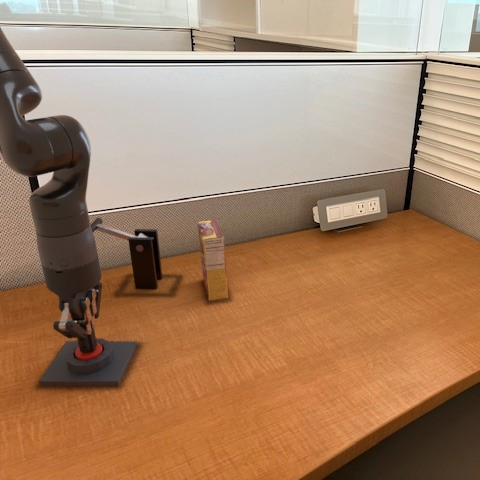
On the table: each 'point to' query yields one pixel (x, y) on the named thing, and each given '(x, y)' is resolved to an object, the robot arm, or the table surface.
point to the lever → (113, 230)
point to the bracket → (145, 259)
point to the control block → (90, 365)
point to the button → (89, 356)
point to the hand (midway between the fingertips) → (88, 349)
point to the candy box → (213, 259)
